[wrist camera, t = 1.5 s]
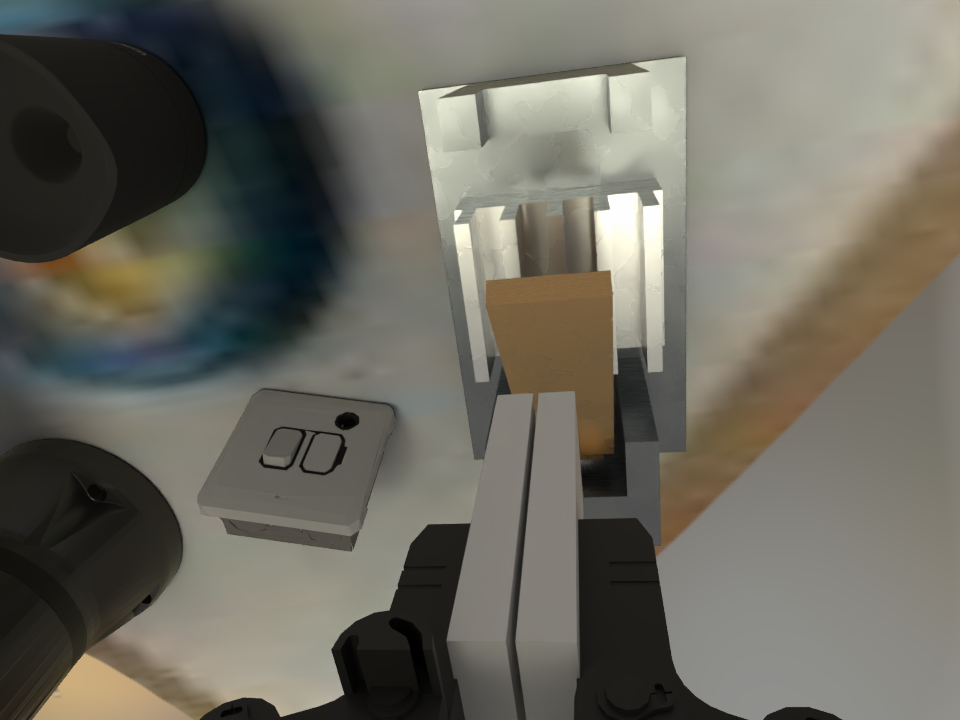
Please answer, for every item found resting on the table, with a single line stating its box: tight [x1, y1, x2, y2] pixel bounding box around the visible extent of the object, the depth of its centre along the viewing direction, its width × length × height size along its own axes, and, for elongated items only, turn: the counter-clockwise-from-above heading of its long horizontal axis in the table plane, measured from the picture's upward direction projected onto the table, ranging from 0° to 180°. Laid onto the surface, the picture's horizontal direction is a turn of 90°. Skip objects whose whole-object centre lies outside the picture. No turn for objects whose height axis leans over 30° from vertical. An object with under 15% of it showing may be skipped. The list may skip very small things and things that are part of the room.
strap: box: [486, 270, 614, 471], centre depth 28 cm, size 15×4×1 cm
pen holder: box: [0, 34, 205, 263], centre depth 33 cm, size 9×9×10 cm
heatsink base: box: [418, 56, 686, 546], centre depth 34 cm, size 22×13×10 cm, turn 7°
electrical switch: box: [197, 390, 395, 551], centre depth 41 cm, size 9×5×9 cm, turn 86°
